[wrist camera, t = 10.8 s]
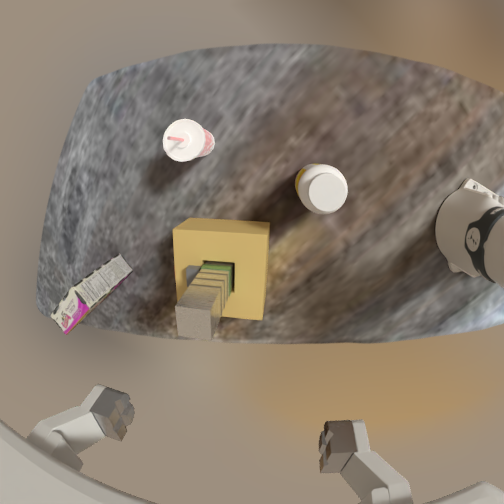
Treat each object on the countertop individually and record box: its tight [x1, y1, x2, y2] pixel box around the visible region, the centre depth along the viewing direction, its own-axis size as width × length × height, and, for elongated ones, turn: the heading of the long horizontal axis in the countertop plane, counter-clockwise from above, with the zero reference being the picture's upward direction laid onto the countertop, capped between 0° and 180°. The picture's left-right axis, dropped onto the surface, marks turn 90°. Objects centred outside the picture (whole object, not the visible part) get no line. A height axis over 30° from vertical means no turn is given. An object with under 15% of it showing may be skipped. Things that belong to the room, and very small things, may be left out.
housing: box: [173, 218, 270, 320], centre depth 45 cm, size 14×14×10 cm
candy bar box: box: [51, 254, 133, 335], centre depth 46 cm, size 11×5×16 cm, turn 129°
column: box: [175, 260, 235, 340], centre depth 37 cm, size 4×4×16 cm
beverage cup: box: [163, 119, 215, 162], centre depth 37 cm, size 6×6×14 cm
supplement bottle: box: [295, 164, 348, 214], centre depth 38 cm, size 7×7×13 cm
